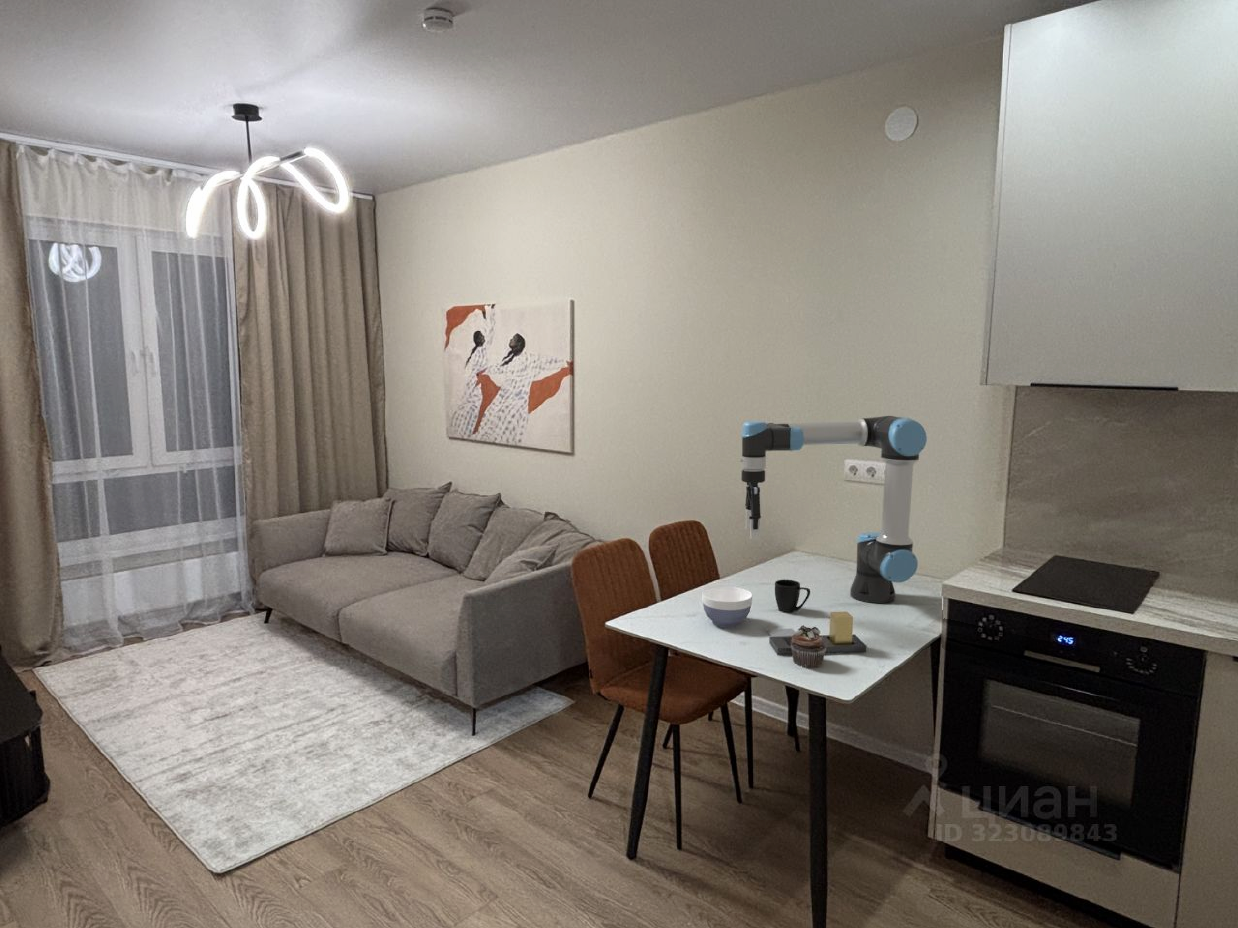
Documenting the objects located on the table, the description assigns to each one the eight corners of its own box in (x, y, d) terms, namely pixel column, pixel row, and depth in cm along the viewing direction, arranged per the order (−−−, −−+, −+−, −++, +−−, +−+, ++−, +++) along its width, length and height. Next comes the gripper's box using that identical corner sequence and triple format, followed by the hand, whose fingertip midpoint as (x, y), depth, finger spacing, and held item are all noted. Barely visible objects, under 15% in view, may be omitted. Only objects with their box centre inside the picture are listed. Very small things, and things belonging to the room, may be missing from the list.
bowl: (755, 617, 247) (755, 589, 246) (747, 633, 232) (747, 604, 231) (707, 612, 252) (708, 584, 251) (696, 628, 237) (697, 598, 236)
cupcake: (788, 666, 207) (788, 631, 206) (793, 653, 216) (793, 620, 215) (823, 671, 204) (824, 636, 203) (827, 658, 213) (828, 624, 212)
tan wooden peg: (845, 643, 224) (846, 611, 222) (851, 650, 219) (853, 617, 217) (829, 644, 223) (830, 611, 222) (834, 650, 218) (836, 617, 217)
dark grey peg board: (854, 640, 226) (854, 634, 226) (866, 652, 217) (866, 645, 217) (769, 643, 224) (769, 636, 224) (777, 654, 215) (777, 648, 215)
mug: (803, 618, 246) (804, 590, 244) (769, 610, 253) (770, 583, 252) (813, 611, 252) (814, 584, 251) (781, 604, 259) (781, 577, 258)
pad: (792, 630, 235) (792, 628, 235) (800, 639, 227) (800, 637, 227) (767, 630, 234) (767, 629, 234) (774, 640, 226) (774, 638, 226)
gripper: (737, 464, 255) (736, 525, 258) (745, 475, 230) (744, 543, 233) (760, 464, 254) (759, 525, 257) (770, 475, 230) (769, 543, 233)
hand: (752, 534), depth 245 cm, fingers open, 13 cm apart
